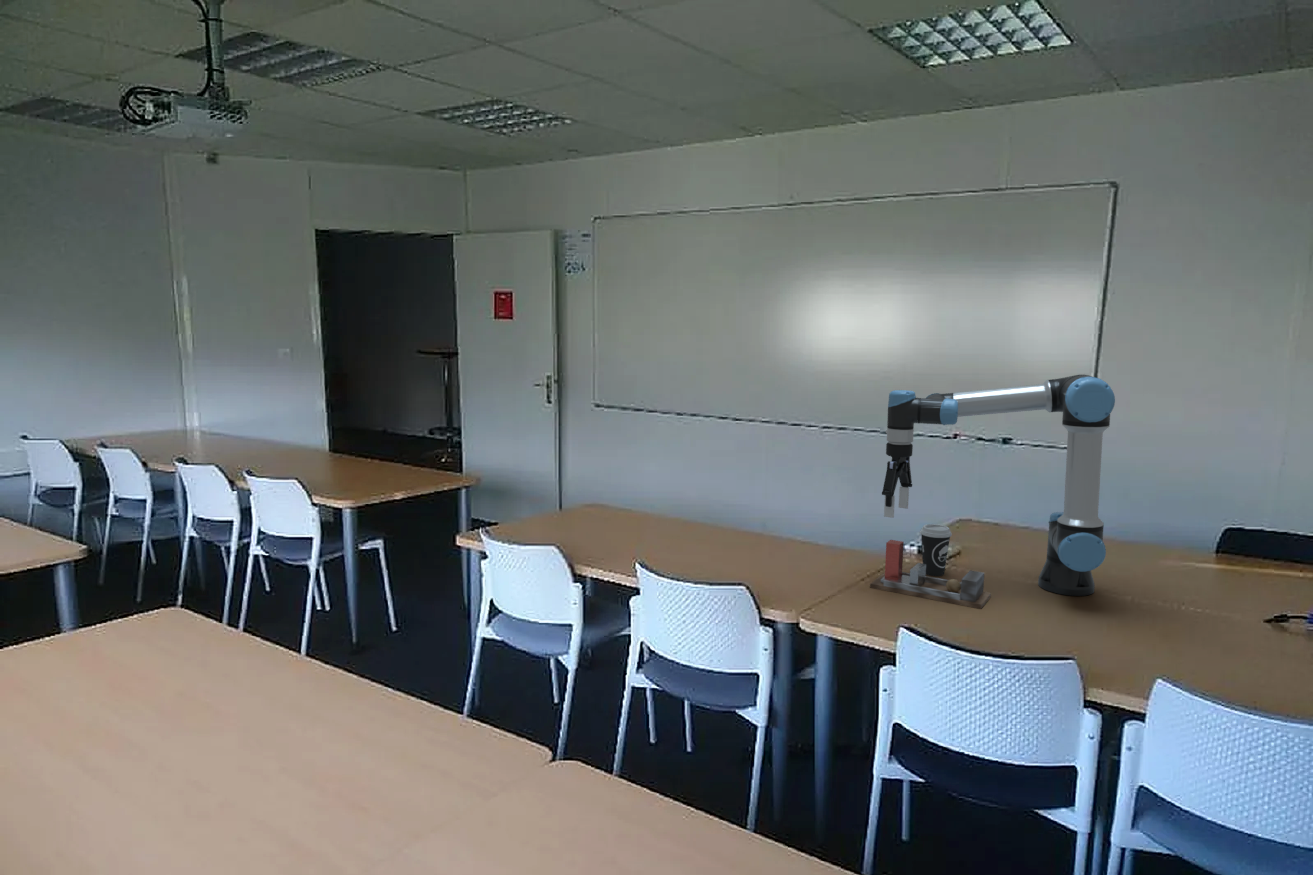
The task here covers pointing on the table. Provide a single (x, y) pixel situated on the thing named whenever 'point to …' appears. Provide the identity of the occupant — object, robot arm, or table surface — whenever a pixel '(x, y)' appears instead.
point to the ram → (895, 566)
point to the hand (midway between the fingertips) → (896, 512)
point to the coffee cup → (935, 548)
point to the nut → (953, 585)
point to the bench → (942, 589)
